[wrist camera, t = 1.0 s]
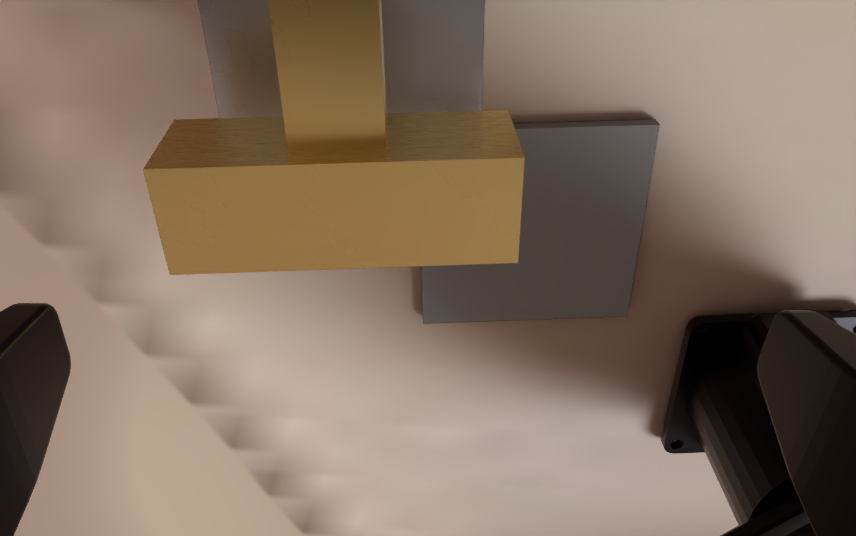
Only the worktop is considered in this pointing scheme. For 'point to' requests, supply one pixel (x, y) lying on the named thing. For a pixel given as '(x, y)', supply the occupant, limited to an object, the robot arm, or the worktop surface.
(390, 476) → the worktop surface
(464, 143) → the bar
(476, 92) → the grey rectangular box
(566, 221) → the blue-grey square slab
